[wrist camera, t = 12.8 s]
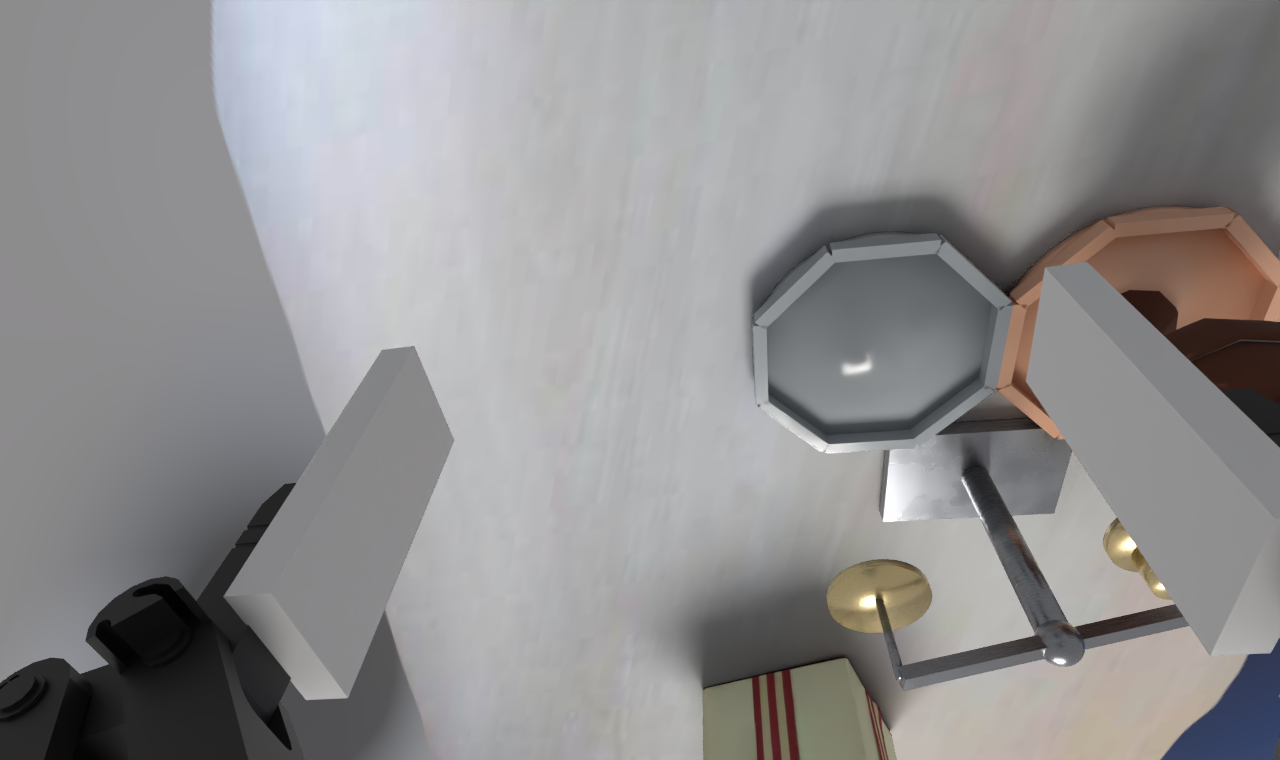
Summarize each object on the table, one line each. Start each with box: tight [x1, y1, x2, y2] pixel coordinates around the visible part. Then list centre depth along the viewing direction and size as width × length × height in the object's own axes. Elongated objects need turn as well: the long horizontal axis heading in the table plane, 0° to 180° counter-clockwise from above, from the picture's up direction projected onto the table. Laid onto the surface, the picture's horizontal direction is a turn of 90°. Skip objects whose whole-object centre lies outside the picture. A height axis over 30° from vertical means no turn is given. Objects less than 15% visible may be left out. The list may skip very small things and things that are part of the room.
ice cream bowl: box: [1121, 290, 1280, 404], centre depth 36 cm, size 11×11×15 cm
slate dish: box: [752, 232, 1013, 454], centre depth 44 cm, size 15×15×2 cm
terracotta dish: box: [996, 206, 1280, 439], centre depth 43 cm, size 15×15×2 cm
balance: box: [826, 418, 1190, 691], centre depth 43 cm, size 8×24×17 cm, turn 97°
